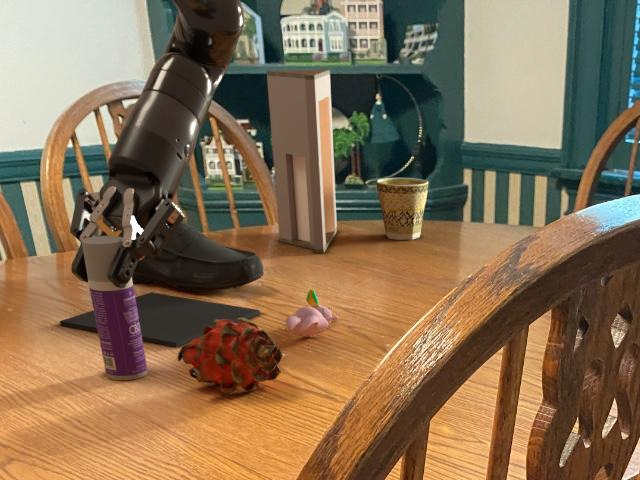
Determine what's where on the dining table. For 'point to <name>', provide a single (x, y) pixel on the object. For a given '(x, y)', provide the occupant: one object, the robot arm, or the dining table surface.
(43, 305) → the dining table surface
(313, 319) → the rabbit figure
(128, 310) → the container
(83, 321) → the mat
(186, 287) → the loafer
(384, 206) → the ceramic cup
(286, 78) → the cabinet
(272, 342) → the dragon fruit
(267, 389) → the dining table surface
